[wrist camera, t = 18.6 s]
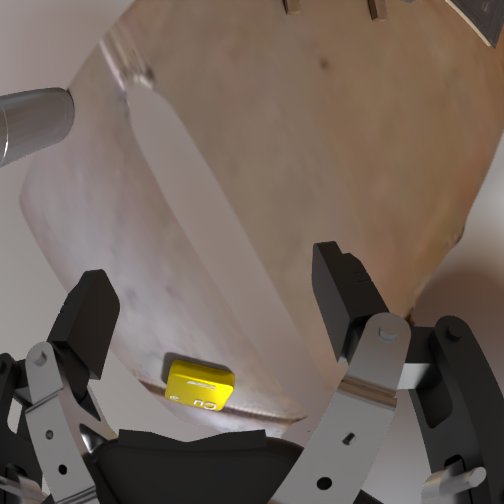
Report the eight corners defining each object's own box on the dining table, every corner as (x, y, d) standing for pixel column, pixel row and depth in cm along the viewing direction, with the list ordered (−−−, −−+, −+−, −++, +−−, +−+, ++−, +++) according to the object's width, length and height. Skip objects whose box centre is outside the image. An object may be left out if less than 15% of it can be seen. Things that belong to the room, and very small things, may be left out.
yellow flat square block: (237, 371, 60) (236, 389, 55) (221, 398, 67) (220, 413, 63) (173, 356, 57) (169, 373, 53) (167, 385, 65) (163, 400, 61)
